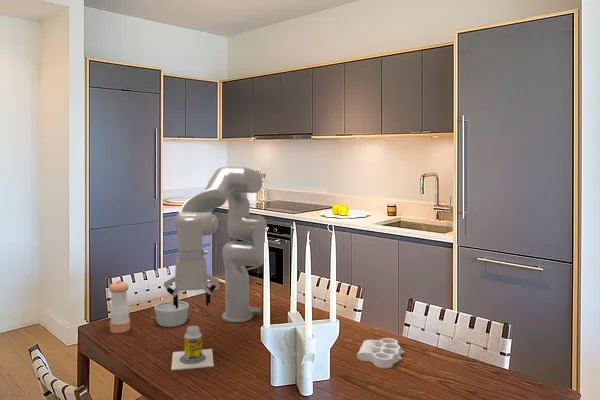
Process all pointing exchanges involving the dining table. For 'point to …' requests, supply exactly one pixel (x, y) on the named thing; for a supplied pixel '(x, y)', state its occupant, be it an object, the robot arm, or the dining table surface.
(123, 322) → the salt shaker
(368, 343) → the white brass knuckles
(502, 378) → the dining table surface
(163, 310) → the ramekin
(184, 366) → the card
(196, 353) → the supplement bottle
